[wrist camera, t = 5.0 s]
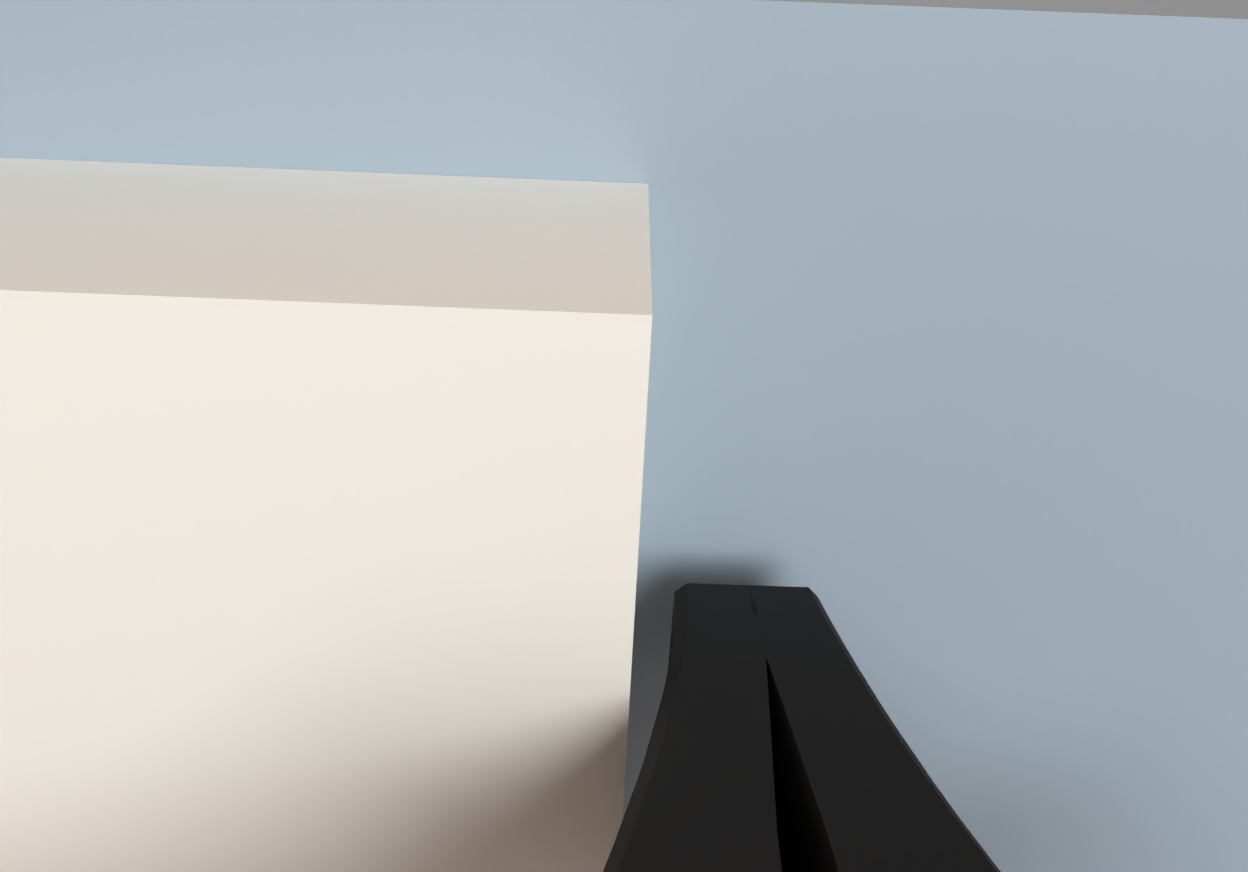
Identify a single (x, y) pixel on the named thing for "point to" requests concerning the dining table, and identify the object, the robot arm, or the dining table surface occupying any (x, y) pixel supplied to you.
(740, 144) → the deck
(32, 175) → the cream tapered slab
